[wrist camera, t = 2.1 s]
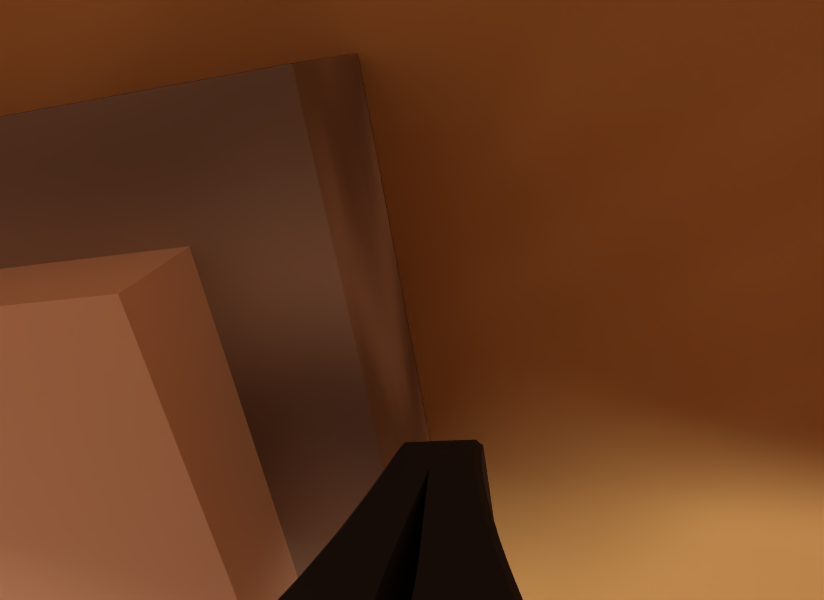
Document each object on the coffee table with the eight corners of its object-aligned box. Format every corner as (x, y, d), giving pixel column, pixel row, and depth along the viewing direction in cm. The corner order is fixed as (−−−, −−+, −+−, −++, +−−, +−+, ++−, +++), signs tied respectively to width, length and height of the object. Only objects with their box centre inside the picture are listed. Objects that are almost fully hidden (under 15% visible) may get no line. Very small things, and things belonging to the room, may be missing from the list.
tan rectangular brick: (311, 619, 13) (280, 710, 12) (84, 614, 15) (24, 695, 13) (189, 246, 10) (118, 294, 8) (-95, 279, 11) (-211, 327, 9)
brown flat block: (451, 559, 17) (436, 697, 14) (126, 558, 20) (40, 676, 16) (357, 53, 12) (292, 63, 8) (-76, 132, 14) (-272, 166, 11)
